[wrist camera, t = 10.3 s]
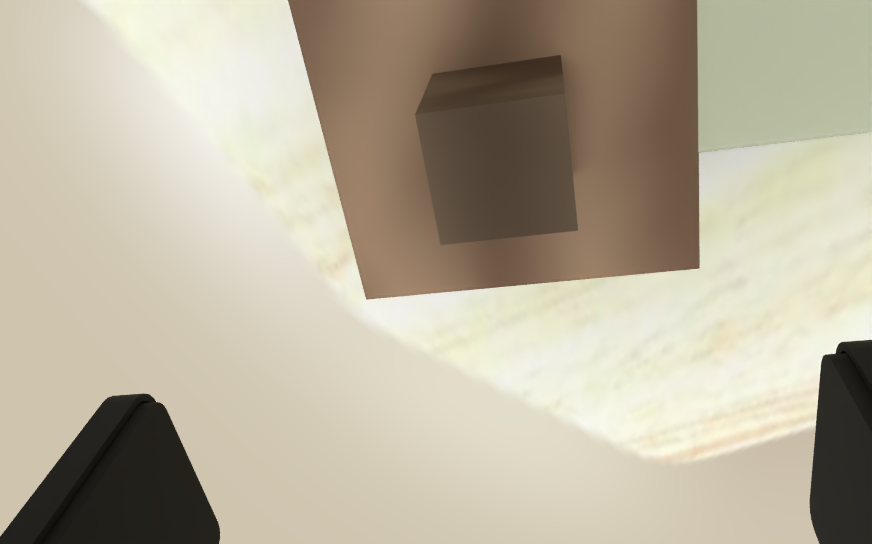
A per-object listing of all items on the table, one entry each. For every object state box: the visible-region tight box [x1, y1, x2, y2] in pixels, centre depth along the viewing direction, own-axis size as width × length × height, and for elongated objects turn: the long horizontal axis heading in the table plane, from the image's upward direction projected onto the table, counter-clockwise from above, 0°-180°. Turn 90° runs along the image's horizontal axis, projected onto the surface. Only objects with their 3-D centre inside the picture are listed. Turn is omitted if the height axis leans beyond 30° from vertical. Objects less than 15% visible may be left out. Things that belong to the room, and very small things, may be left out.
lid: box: [288, 0, 699, 299], centre depth 23 cm, size 12×12×5 cm
